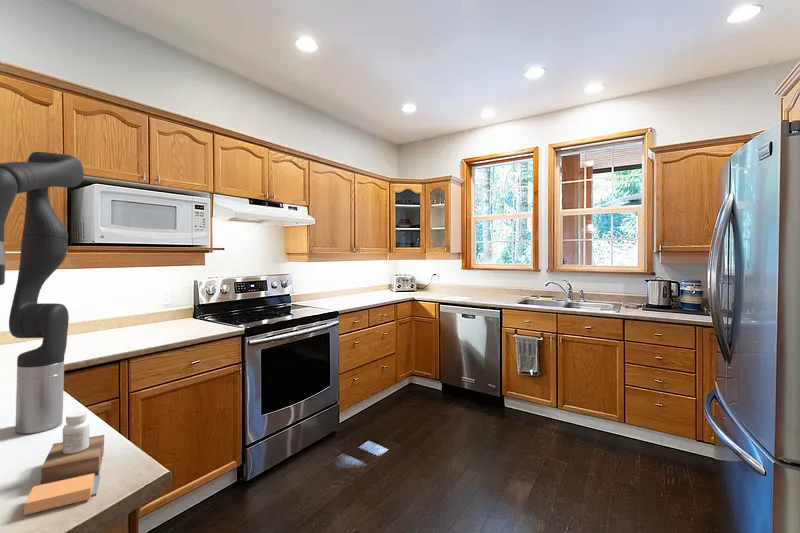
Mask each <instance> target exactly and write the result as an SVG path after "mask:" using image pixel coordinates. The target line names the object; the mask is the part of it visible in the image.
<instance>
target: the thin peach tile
mask: <svg viewBox="0 0 800 533" xmlns="http://www.w3.org/2000/svg"><path fill="white" fill-rule="evenodd" d="M94 474H95V473H93V474H89V475H84V476H79V477H75V478H70V479H66V480H61V481H57V482H52V483H47V484H43V485H41V484H40V485H39V484H38V485H34V486H33V487H32V488H31V490H30V492H29V495H28V497H27V498H26V500H25V502H24V516H27V515H31V514H35V513H38V512H39V513H40V512H43V511H47V510H51V509H54V508H58V507H62V506H63V507H64V506H67V505H71V504H75V503H79V502H83V501H86V500H87V501H88V500H91V498H92V496H91V494H92V490H93V486H94Z"/></svg>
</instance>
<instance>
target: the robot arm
mask: <svg viewBox="0 0 800 533" xmlns="http://www.w3.org/2000/svg"><path fill="white" fill-rule="evenodd" d="M84 174H85V172H84V167H83V165H82V163H81V161H80V160H79V159H78V158H77V157H75V156H73V155H69V154H65V153H55V152H47V151H45V152H44V151H34V152H31V153H30V154H29V156H28V158H27V161H11V162H10V161H9V162H1V163H0V286H2V285H4V284H5V282H6V280H5V279H6V275H5V274H6V249H5V223H6V220H7V218H8V216H9V215H8V214H9V212H10V210H11V208H12V205H13V202H14V201H15V198H16V196H17V195H18V194H22V193H26V194H25V195H26V196H25V198H26V200H25V214H24V222H23V230H22V235H21V242H20V256H19V257H20V258H19V267H18V274H17V281H16V285H15V286H16V287H15V290H14V295H13V297H12V299H13V300H12V304H11V307H10V313H9V317H8V329H9V332H10V334H11V336H13V337H15V338H17V339H42V344H40V346H38V347H37V348H34V349H31V350H28V351H27V350H26V351H25V352H21V353H19V355H18V356H17V360H16V393H15V394H16V395H15V398H16V399H15V429H14V430H15V433H16V434H23V435H24V434H36V433H42V432H46V431H49V430H51V429H52V430H53V429H55V428H57V427H59V426H61V425H62V424H63V417H64V412H63V411H64V387H65V386H64V383H65V381H64V378H65V354H66V351H67V344H68V343H67V341H68V340H67V339H68V330H69V318H70V317H69V312H68V308H67V307H66V306H65V304H62V303H54V302H53V303H40V302H39V303H38V300H39V295H40V293H41V289H42V288H43V285H44V284H45V282H46V281H47V280H48V279H49V278H50V276H52V274H54V273H55V271H57V269H58V268H59V267H60V266H61V265H62V263H63V262H64V260H65V258H66V257H67V252H68V244H69V242H68V241H69V233H68V232H69V231H68V229H67V228H66V226H65V224H64V223H63V221H62V220H61V219H60V217H59V215H58V214H57V213H56V212H55V211H54V209H53V206H52V205H51V202H50V198H49V188H54V187H56V188H57V187H58V188H75V187H78V186H79V185H80V184H81V183H82V182H83V180H84Z"/></svg>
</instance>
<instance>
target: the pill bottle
mask: <svg viewBox="0 0 800 533" xmlns="http://www.w3.org/2000/svg"><path fill="white" fill-rule="evenodd" d="M87 413H88V412H87V411H83V410H82V411H75V412H71V413H69V414H66V416H65V425H64V426H63V428H62V442H63V453H65V454H72V453H78V452H81V451H83V450H85V449H87V448H88V447H89V437H90V422H89V421H87V418H88V416H87V415H88V414H87Z"/></svg>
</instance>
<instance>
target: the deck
mask: <svg viewBox="0 0 800 533" xmlns="http://www.w3.org/2000/svg"><path fill="white" fill-rule="evenodd" d="M104 452H105V434H101V435H96V436H89V447H88V448H87V449H85V450H83V451H81V452H78V453H72V454H65V453H63V441H62V442H58V443H53V445H52V446H51V448H50V450H49V452H48V454H47V456H46V458H45V460H44V462H43V464H42V466H41V467H40V468H41V469H40V485H43V484H47V483H52V482H57V481H61V480H66V479H70V478H75V477H79V476H84V475H89V474H93V473H95V474H94V476H97V475H100V471H101V466H102V461H103V458H102V457H104Z"/></svg>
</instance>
